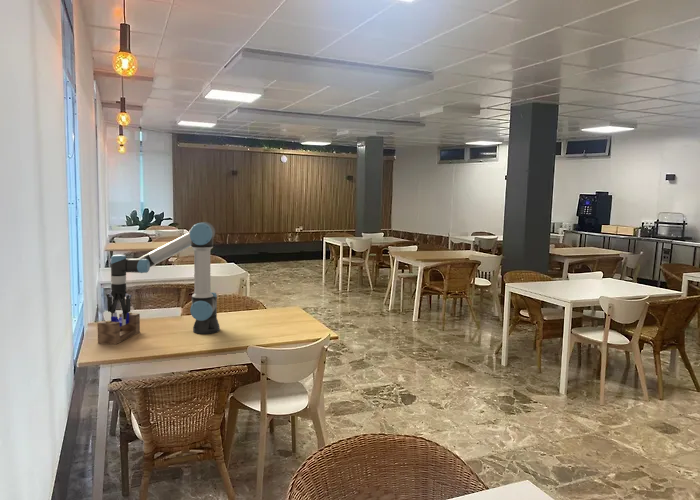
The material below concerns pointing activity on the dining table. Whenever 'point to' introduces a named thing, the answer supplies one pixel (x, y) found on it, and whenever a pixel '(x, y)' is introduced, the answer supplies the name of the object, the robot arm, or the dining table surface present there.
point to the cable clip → (120, 319)
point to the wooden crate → (118, 329)
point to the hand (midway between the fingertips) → (119, 324)
